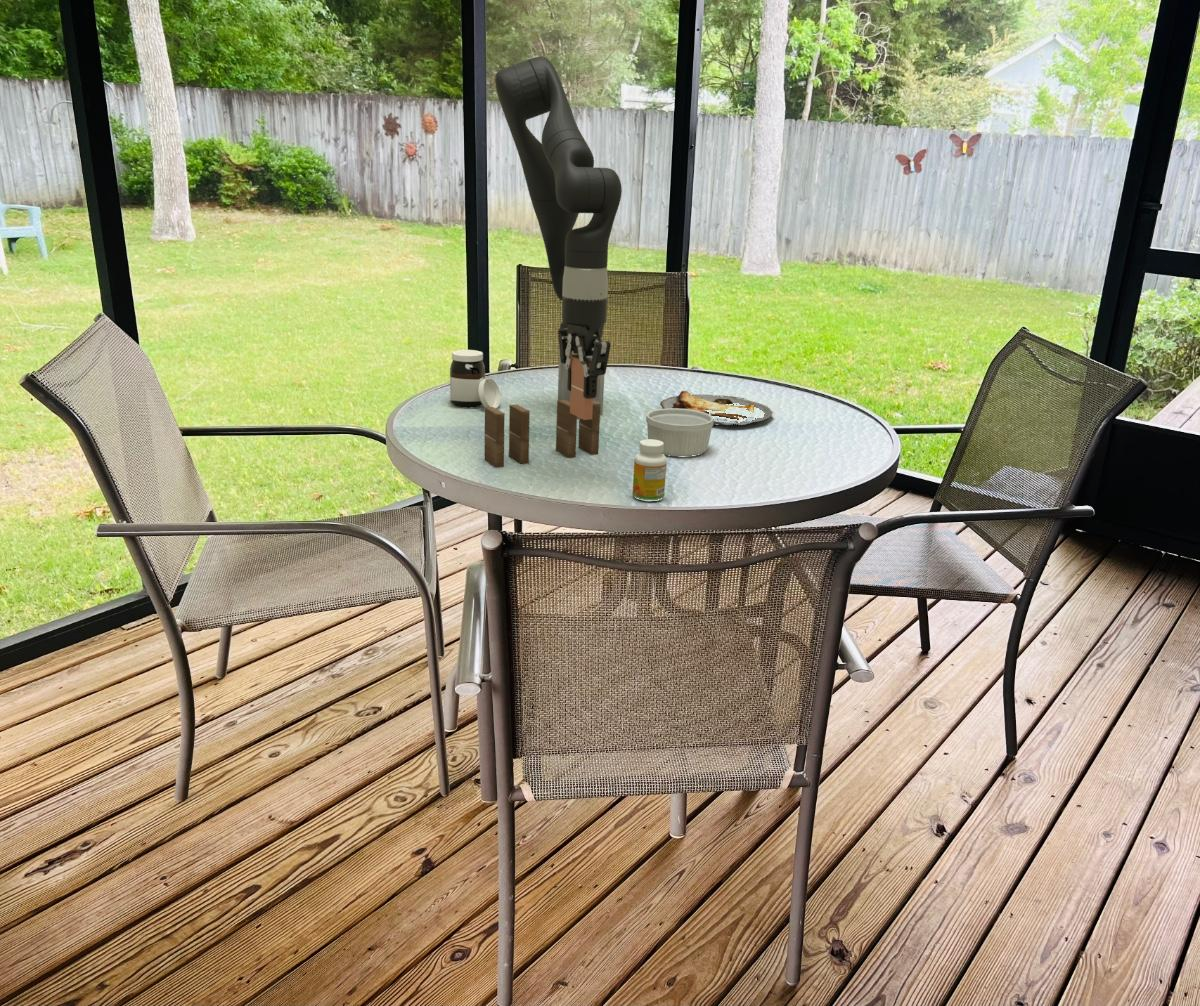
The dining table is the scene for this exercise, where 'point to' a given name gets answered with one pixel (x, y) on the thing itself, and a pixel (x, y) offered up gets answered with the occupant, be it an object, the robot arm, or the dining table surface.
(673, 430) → the ramekin
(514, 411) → the domino
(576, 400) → the domino
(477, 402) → the spread jar
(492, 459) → the domino
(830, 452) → the dining table surface
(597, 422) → the domino
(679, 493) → the dining table surface
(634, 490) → the supplement bottle
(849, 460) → the dining table surface
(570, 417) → the domino
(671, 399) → the food plate
